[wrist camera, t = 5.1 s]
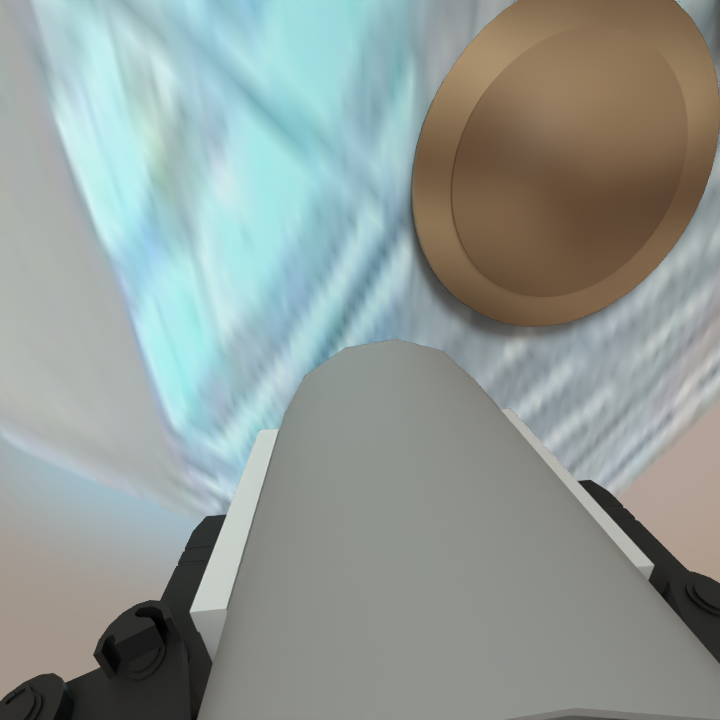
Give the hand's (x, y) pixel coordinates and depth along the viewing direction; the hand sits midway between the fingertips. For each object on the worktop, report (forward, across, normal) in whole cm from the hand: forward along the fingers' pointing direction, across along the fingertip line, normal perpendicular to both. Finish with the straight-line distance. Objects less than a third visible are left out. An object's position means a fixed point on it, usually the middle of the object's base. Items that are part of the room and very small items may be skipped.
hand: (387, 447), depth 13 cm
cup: (+1, 0, 0) cm, 1 cm away
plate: (+4, +8, +10) cm, 13 cm away
